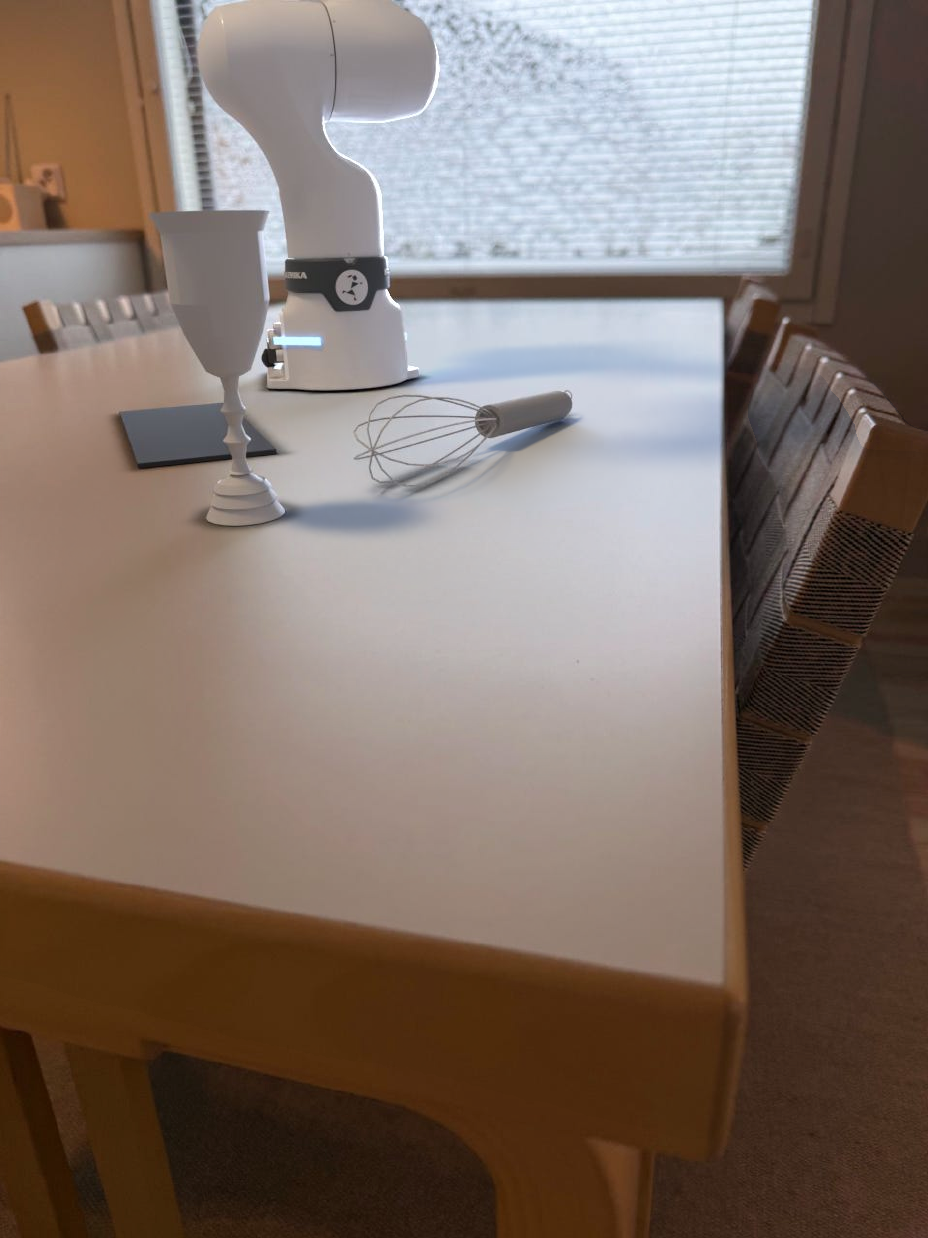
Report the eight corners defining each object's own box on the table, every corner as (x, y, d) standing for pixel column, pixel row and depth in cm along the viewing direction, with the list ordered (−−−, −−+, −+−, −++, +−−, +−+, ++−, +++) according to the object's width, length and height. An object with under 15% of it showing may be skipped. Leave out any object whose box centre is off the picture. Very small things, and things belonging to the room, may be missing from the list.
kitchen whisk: (599, 416, 88) (601, 347, 86) (412, 508, 61) (407, 412, 59) (540, 412, 91) (540, 345, 88) (337, 498, 64) (329, 406, 61)
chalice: (189, 505, 62) (147, 214, 55) (290, 495, 64) (262, 212, 57) (194, 535, 56) (148, 211, 49) (306, 523, 58) (277, 209, 51)
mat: (119, 415, 95) (119, 411, 95) (227, 405, 99) (227, 402, 99) (138, 468, 73) (137, 463, 73) (276, 453, 76) (276, 448, 76)
